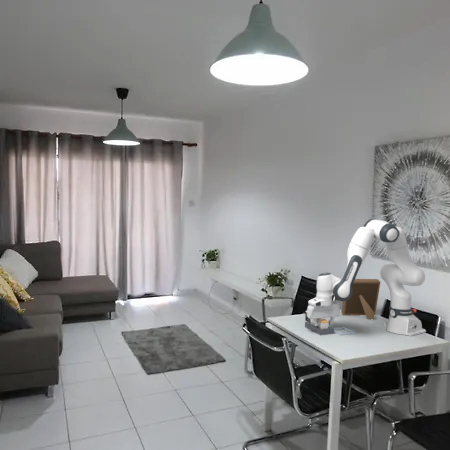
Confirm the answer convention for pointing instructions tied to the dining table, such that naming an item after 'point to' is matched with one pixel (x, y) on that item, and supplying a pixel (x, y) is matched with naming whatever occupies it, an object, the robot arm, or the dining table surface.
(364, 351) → the dining table surface
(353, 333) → the tray
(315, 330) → the square-holed metal block
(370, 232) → the robot arm
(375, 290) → the photo frame
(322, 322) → the plug
